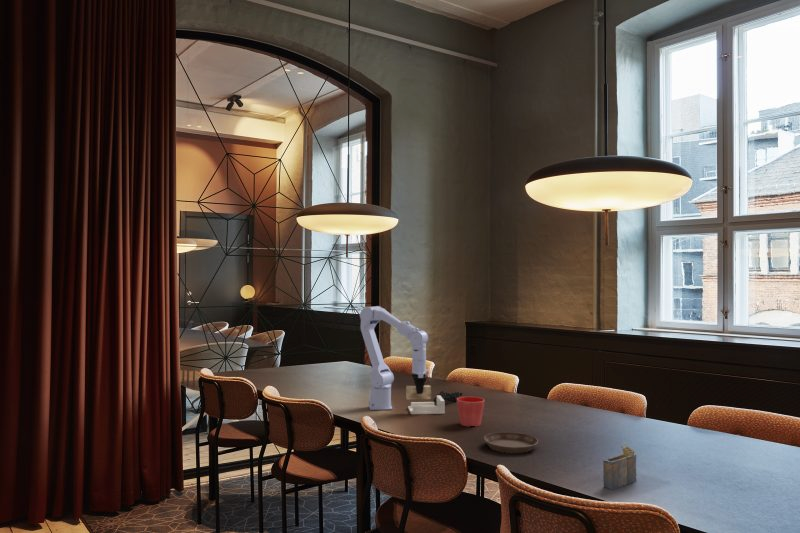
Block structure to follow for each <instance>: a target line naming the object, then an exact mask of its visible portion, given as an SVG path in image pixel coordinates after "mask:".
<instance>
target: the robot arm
mask: <svg viewBox="0 0 800 533" xmlns="http://www.w3.org/2000/svg"><path fill="white" fill-rule="evenodd" d="M359 318H360V331H361V335H362V337H363V338H362V339H363V341H364V344H365V348H366V350H367V353H368V357H369V360H370V363H371V366H372V368H371V369H370V383H371V385H372V386H373V387H369V400H368V406H369V410H370V411H371V410H372V411H373V410H374V411H375V410H376V411H377V410H378V411H380V410H381V411H382V410H385V411H386V410H393V406H392V400H391V398H392V384H393V382H394V380H395V376H394V373H393V371H392V370H391V369H390V366H388V365H387V364H386V363H385V361H384V360H385V359H384V358H383V354H382V351H381V348H380V344H379V342H378V338H377V334H376V332H375V328H376V326H377V324H378V323H380V322H381V321H383V322H385V323H387V324H389V325H390V326H391V327H394V328H395V329H397V332H398V333H397V334H400V335H401V336H403V337H404V338H406V339H408V340H409V342H410V344H411V349H412V350H411V354H412V355H411V356H412V357H411V359H412V361H411V362H412V363H411V364H412V365H411V368H412V370H411V373H412V374H411V377H412V378H413V383H414V386H415V385H416V391H417V394H422V393H423V388H424V385H425V383H426V380H427V379H428V378H427V376H426V373H429V372H430V370H429V369H427V343H428V341H429V334H428V333H427V332H426V331H425V330H423V329H421V330H420V328H418V327H415V326H414V325H413V324H411V322H410V321H409V320H408V321H406V320H403V321H401V320H400V319H398V318H397V317H395V316H394V315H393V314H392V313H390V312H389V311H387V310H386V308H383V307H382V306H380V305H376V306H365V307H363V308H362V309H361V311H360V312H359Z"/></svg>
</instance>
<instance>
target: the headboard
mask: <svg viewBox="0 0 800 533" xmlns="http://www.w3.org/2000/svg"><path fill="white" fill-rule="evenodd" d="M436 395H437V394H436ZM436 401H437V403H436V404H437V405H434V402H433V401H417V402H416V401H413V402H410V405H408V406H407V408H408V411H409V413H410V414H411V415H438V414H439V415H440V414H441V415H442V414H446V410H445V409H446V405H445V404H446V402H445V401H444V399H443V398H442V397H441V396H440V395H437V399H436Z"/></svg>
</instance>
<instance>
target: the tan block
mask: <svg viewBox="0 0 800 533" xmlns="http://www.w3.org/2000/svg"><path fill="white" fill-rule="evenodd" d="M405 398H406V400H408V401H409V400H431V399H432V386H431V385H430V384H424V388H423V393H422V394H417V391H416V385H415V384H414V385H405Z"/></svg>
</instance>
